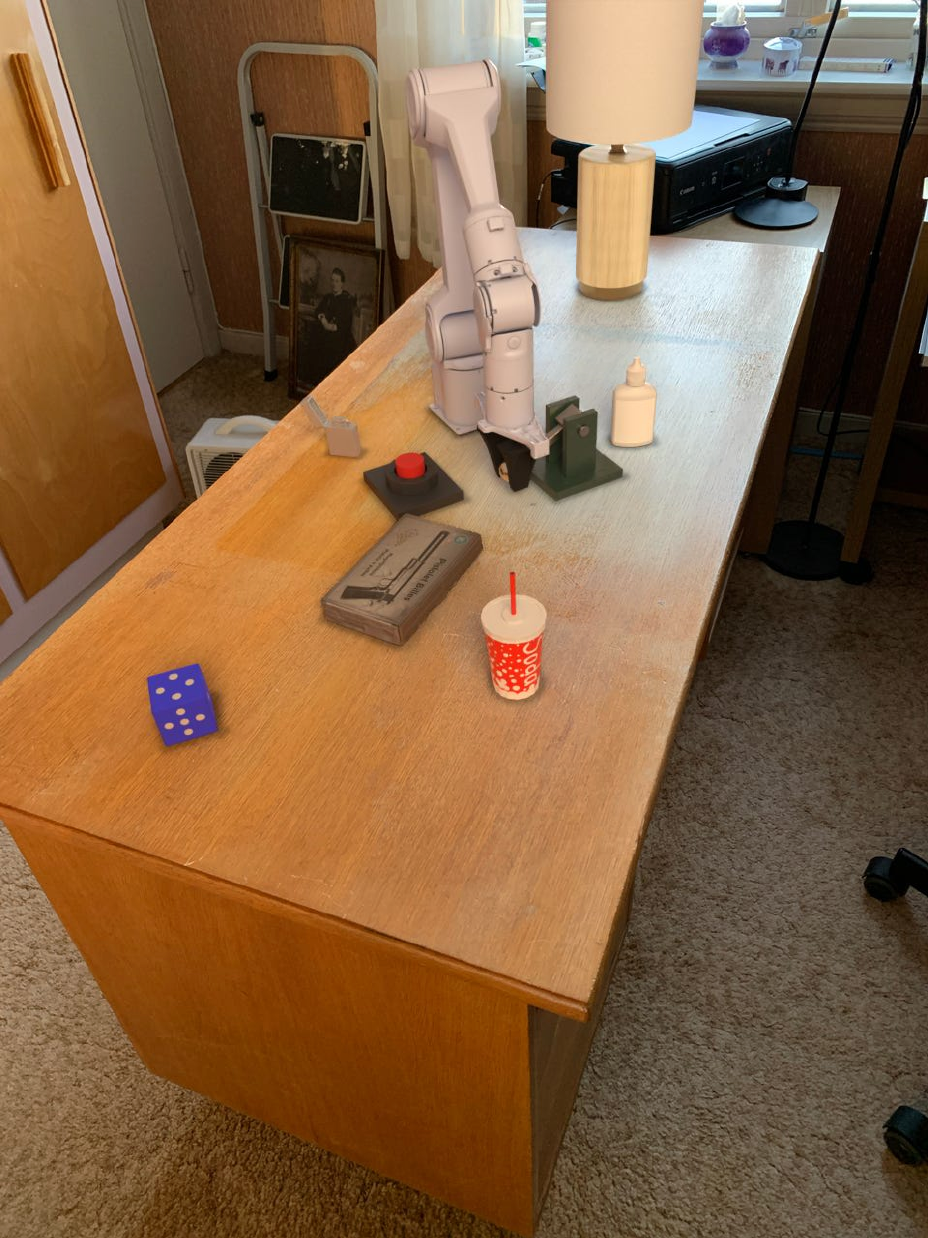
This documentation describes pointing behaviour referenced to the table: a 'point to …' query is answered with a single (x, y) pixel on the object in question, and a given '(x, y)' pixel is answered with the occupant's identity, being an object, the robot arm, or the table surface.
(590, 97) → the lamp
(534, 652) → the beverage cup
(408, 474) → the button
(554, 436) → the lever
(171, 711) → the die
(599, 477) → the bracket
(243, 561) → the table surface
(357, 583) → the box
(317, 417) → the lighter
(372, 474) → the button box
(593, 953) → the table surface
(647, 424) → the eye dropper bottle
